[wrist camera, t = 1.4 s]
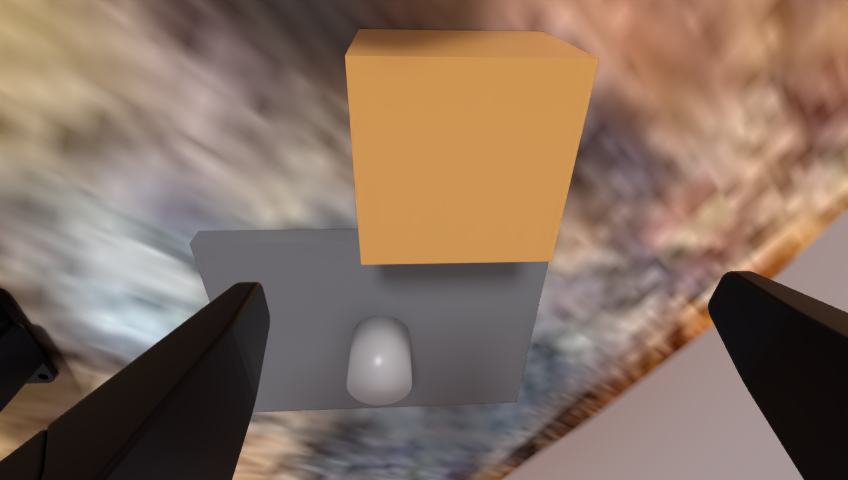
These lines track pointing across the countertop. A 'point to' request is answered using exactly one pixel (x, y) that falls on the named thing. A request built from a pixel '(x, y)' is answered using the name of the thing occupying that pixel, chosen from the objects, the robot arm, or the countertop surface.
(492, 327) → the post board
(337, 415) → the countertop surface
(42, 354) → the robot arm
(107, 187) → the countertop surface
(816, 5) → the countertop surface
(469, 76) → the tan wooden cube
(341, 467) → the countertop surface
